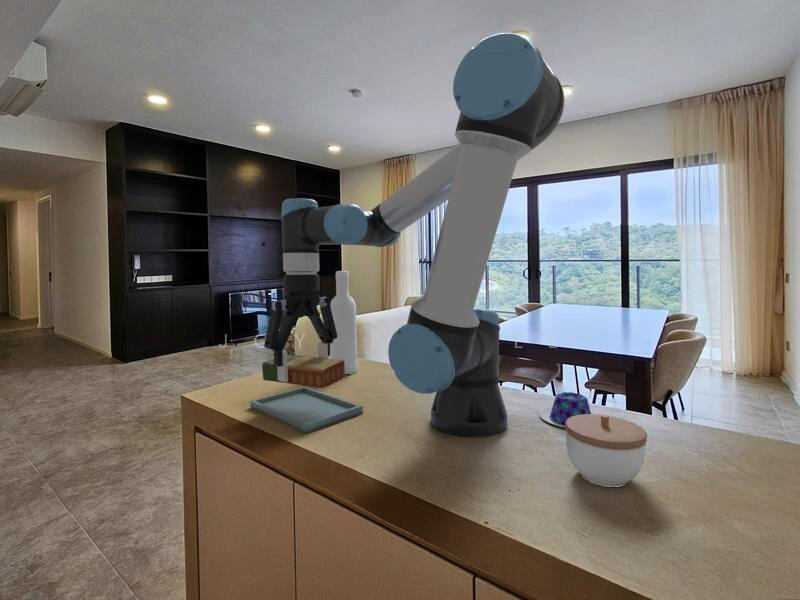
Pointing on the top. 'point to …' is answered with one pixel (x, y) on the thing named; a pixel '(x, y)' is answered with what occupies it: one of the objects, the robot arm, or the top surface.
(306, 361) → the carton
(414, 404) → the top surface
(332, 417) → the tray
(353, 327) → the bottle
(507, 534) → the top surface
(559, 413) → the pudding
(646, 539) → the top surface
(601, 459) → the lidded jar
